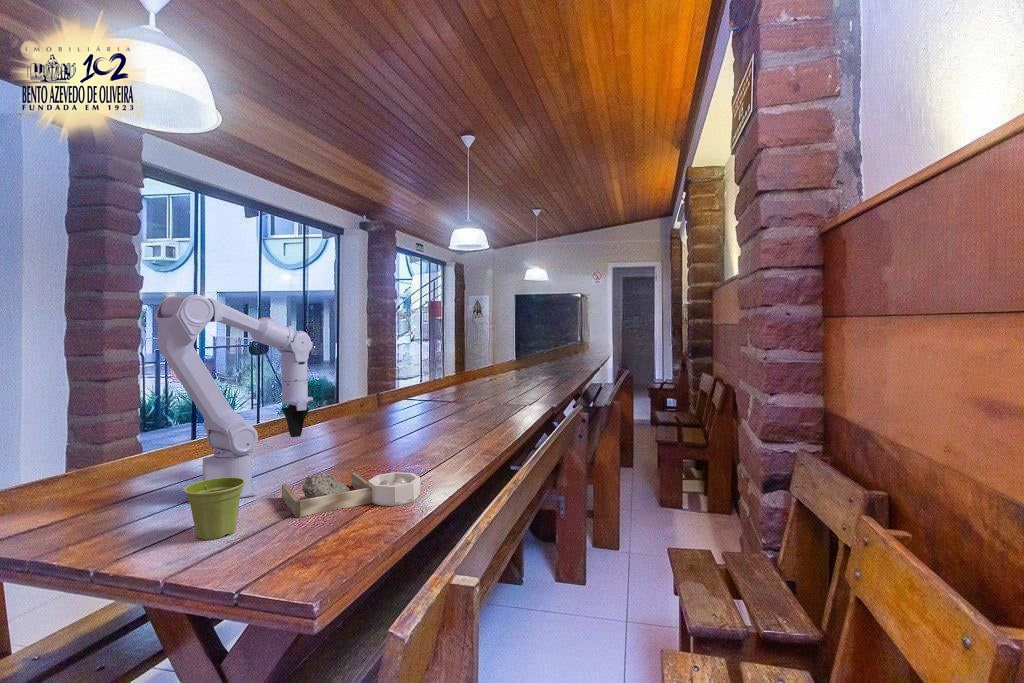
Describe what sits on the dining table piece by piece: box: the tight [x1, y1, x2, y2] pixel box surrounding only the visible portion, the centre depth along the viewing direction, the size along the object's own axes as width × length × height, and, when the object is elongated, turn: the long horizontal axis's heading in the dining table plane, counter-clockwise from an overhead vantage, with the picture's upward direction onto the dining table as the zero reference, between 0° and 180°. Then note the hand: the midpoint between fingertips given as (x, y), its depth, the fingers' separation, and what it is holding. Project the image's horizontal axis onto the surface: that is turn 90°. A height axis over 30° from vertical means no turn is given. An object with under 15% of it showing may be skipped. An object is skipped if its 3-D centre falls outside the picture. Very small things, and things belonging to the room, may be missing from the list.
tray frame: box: [281, 471, 373, 519], centre depth 108 cm, size 16×14×3 cm
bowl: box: [367, 471, 421, 507], centre depth 109 cm, size 10×10×4 cm
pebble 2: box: [394, 478, 407, 484], centre depth 110 cm, size 3×3×3 cm
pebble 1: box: [379, 480, 392, 485], centre depth 109 cm, size 3×3×3 cm
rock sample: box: [300, 474, 350, 499], centre depth 107 cm, size 10×8×9 cm
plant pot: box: [183, 477, 245, 541], centre depth 90 cm, size 9×9×9 cm
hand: (295, 436), depth 124 cm, fingers closed
